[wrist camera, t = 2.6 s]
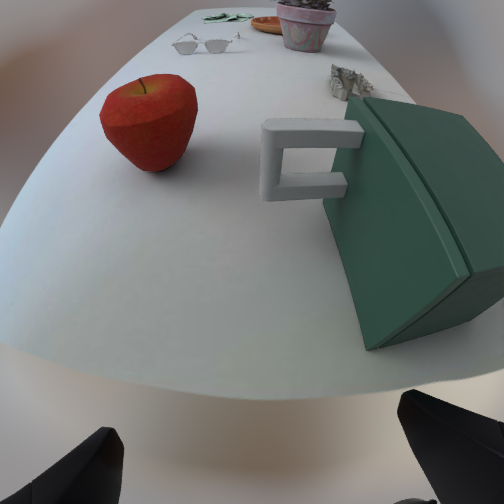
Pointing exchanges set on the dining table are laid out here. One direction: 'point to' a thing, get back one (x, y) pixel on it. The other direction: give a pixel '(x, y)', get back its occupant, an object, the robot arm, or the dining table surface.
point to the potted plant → (305, 23)
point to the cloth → (227, 18)
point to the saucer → (267, 24)
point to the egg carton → (349, 84)
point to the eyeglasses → (211, 45)
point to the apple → (151, 120)
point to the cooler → (454, 203)
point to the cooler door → (369, 216)
